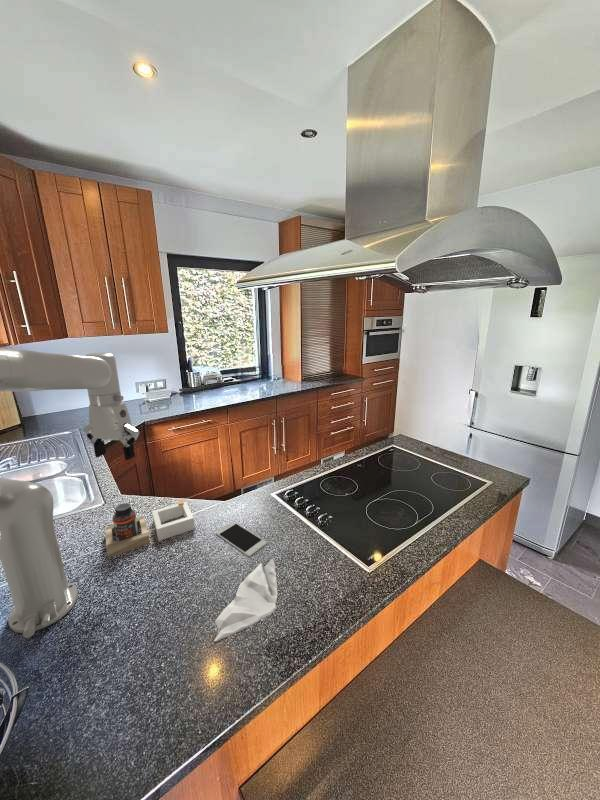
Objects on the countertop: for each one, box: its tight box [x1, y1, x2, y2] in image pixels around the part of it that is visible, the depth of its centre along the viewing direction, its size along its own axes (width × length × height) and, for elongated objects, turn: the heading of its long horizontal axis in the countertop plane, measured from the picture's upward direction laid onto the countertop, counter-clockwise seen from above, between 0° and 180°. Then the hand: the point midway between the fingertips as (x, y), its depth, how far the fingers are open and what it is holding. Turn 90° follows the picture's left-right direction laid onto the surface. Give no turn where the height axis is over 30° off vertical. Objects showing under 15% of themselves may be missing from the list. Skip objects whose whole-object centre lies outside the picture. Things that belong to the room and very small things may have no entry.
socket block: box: [151, 500, 196, 542], centre depth 103 cm, size 11×11×5 cm
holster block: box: [105, 515, 151, 558], centre depth 96 cm, size 11×11×3 cm
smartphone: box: [215, 521, 268, 558], centre depth 97 cm, size 7×16×1 cm, turn 50°
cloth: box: [213, 556, 278, 642], centre depth 77 cm, size 26×14×2 cm, turn 144°
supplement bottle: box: [112, 502, 140, 542], centre depth 95 cm, size 6×6×11 cm
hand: (115, 456), depth 93 cm, fingers open, 9 cm apart
